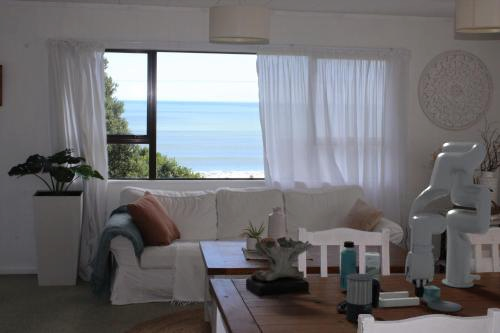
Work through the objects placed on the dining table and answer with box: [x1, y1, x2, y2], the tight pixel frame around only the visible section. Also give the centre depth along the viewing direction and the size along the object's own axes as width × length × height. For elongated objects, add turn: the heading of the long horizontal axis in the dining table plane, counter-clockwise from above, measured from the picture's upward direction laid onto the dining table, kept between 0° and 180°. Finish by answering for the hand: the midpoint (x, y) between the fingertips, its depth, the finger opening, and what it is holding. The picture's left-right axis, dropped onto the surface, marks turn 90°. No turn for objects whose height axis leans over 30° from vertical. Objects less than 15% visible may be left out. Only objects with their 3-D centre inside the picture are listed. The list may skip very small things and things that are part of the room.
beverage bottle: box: [338, 240, 358, 291], centre depth 258 cm, size 6×7×20 cm
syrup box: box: [363, 251, 381, 282], centre depth 263 cm, size 6×6×14 cm
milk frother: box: [335, 273, 381, 323], centre depth 226 cm, size 14×16×15 cm
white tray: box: [378, 291, 421, 308], centre depth 244 cm, size 16×10×2 cm, turn 104°
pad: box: [427, 300, 462, 313], centre depth 239 cm, size 12×12×1 cm
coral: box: [245, 236, 314, 297], centre depth 257 cm, size 25×20×22 cm
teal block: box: [420, 285, 441, 304], centre depth 247 cm, size 5×5×5 cm
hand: (419, 296), depth 246 cm, fingers closed
